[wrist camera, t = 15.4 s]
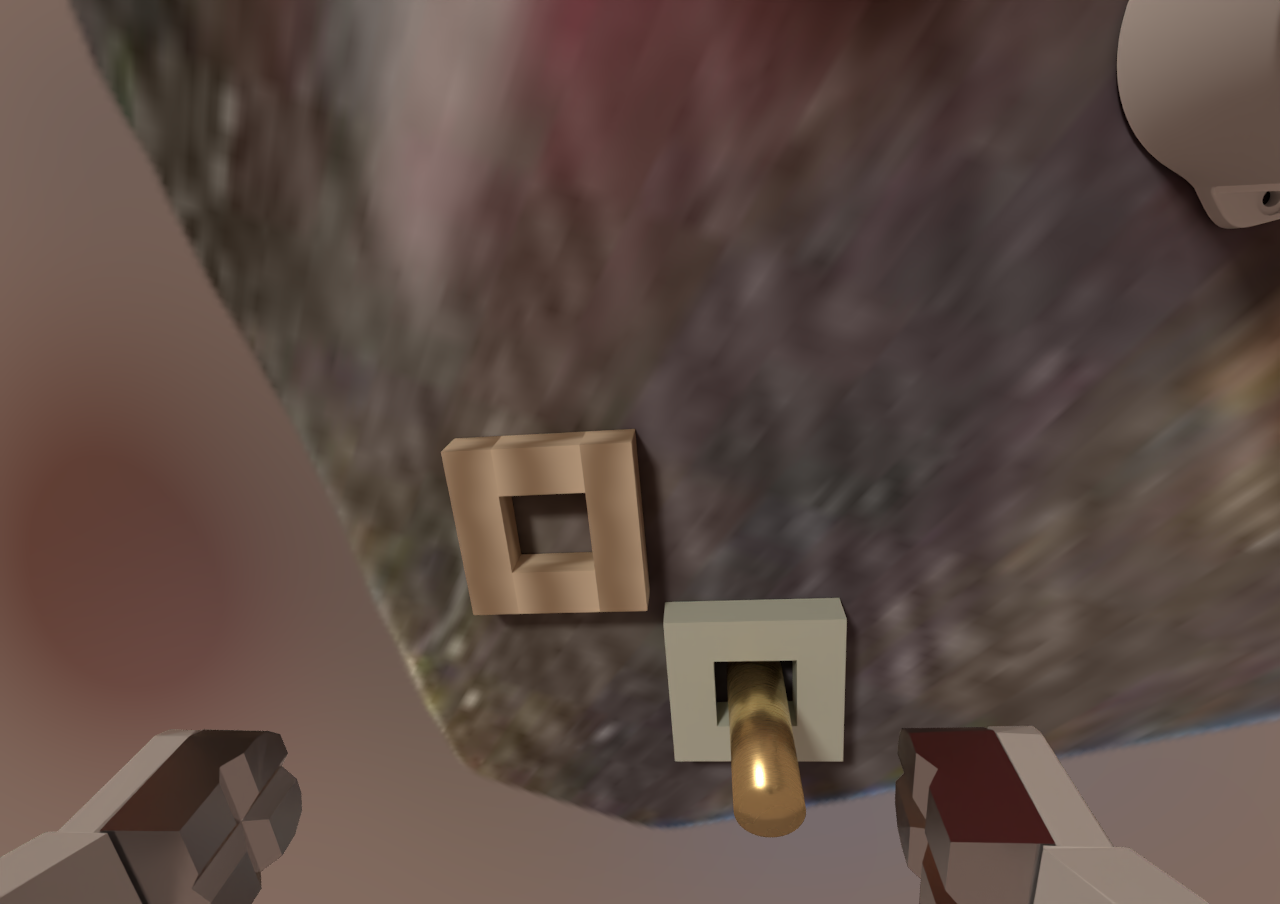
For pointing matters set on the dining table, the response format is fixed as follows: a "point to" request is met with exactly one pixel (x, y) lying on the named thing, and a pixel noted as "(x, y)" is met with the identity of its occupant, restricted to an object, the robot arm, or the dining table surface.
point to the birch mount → (538, 467)
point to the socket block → (756, 635)
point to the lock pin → (763, 750)
